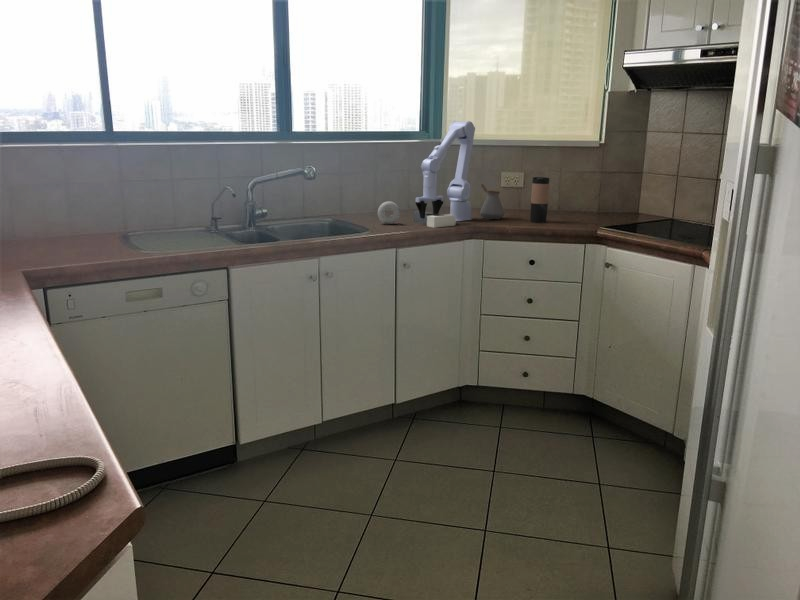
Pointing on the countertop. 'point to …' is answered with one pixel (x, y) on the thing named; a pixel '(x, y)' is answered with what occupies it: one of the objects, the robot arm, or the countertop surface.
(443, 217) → the cream u-shaped cradle
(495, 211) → the coffee pot
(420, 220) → the rail
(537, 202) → the travel mug
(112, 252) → the countertop surface
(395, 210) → the donut
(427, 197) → the robot arm
